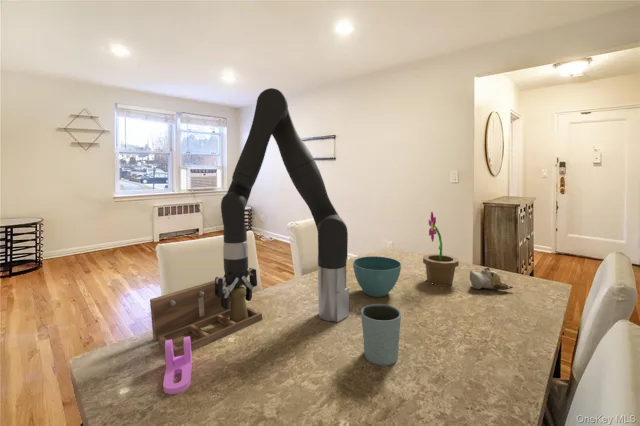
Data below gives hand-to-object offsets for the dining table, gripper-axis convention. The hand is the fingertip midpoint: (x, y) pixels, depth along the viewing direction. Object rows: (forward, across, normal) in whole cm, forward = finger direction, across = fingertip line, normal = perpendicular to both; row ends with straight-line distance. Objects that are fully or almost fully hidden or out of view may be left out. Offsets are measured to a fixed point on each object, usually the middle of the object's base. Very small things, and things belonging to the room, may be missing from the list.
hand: (237, 304), depth 103 cm
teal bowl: (+5, +48, -22) cm, 53 cm away
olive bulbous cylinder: (+6, 0, 0) cm, 6 cm away
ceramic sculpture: (+4, +81, -54) cm, 98 cm away
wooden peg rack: (+5, -9, +1) cm, 10 cm away
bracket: (+6, -26, -13) cm, 30 cm away
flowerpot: (+4, +76, -36) cm, 85 cm away
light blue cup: (+5, +12, -45) cm, 47 cm away
